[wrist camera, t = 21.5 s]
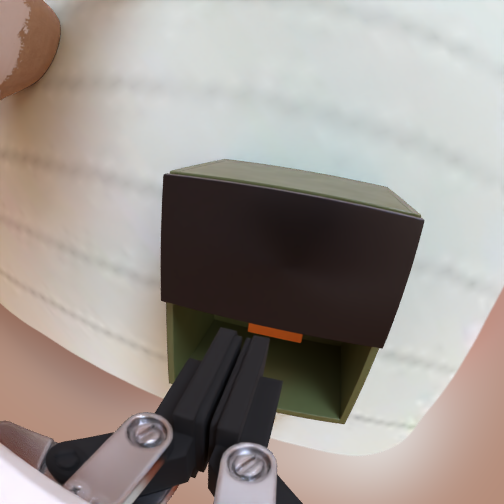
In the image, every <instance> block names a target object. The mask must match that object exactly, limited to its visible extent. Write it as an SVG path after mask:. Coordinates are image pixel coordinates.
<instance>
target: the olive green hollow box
mask: <svg viewBox="0 0 504 504" xmlns="http://www.w3.org/2000/svg"><path fill="white" fill-rule="evenodd" d="M170 174H177V175H185V176H193V177H201V178H209V179H216V180H224V181H231V182H237V183H244V184H251V185H257V186H264V187H270V188H276V189H282V190H288V191H293V192H299V193H305V194H310V195H316V196H321V197H326V198H332V199H337V200H342V201H347V202H352V203H357V204H361V205H366V206H371V207H375V208H380V209H385V210H389V211H393V212H398V213H402V214H406V215H411V216H415V217H419V218H421V215H420V214H419V213H418V212H417V211H416V210H415V209H413V208H412V207H411V206H410V205H409V204H407V203H406V202H405V201H404V200H403V199H401V198H400V197H399V196H398V195H396V194H395V193H394V192H393V191H391V190H390V189H389V188H388V187H384V186H379V185H375V184H370V183H366V182H361V181H356V180H351V179H346V178H341V177H336V176H331V175H326V174H320V173H315V172H309V171H303V170H297V169H291V168H285V167H279V166H272V165H266V164H259V163H251V162H244V161H236V160H228V159H223V160H218V161H213V162H208V163H204V164H199V165H194V166H190V167H185V168H181V169H177V170H173V171H170ZM166 323H167V354H168V374H169V383H171V384H173V383H174V381H175V380H176V378H177V376H178V375H179V373H180V371H181V370H182V368H183V367H184V365H185V363H186V362H187V360H188V359H190V358H192V359H196V360H199V361H202V360H203V358H204V356H205V354H206V353H207V351H208V349H209V347H210V345H211V344H212V342H213V340H214V338H215V336H216V335H217V333H218V331H219V329H220V328H221V327H222V328H226V329H231V330H235V331H237V335H238V336H242V345H241V350H242V347H243V345H244V343H245V340H246V338H250V339H252V338H253V336H254V335H257V336H261V337H266V338H270V342H269V347H268V353H267V358H266V363H265V368H264V373H263V377H267V378H272V379H277V380H281V381H283V384H282V389H281V393H280V398H279V402H278V406H277V410H276V412H277V413H282V414H287V415H292V416H297V417H302V418H308V419H313V420H319V421H326V422H332V423H339V424H345V422H346V420H347V418H348V416H349V414H350V412H351V410H352V408H353V406H354V404H355V402H356V400H357V398H358V396H359V393H360V391H361V389H362V387H363V385H364V382H365V380H366V378H367V376H368V373H369V371H370V369H371V366H372V364H373V362H374V359H375V357H376V354H377V352H378V350H379V348H375V347H369V346H363V345H357V344H351V343H346V342H340V341H334V340H329V339H324V338H318V337H313V336H308V335H303V337H302V341H301V343H298V342H293V341H288V340H283V339H279V338H274V337H269V336H265V335H260V334H256V333H252V332H248V324H249V323H247V322H243V321H238V320H234V319H230V318H226V317H222V316H218V315H214V314H210V313H206V312H202V311H198V310H194V309H190V308H186V307H182V306H179V305H175V304H171V303H167V302H166Z"/></svg>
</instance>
